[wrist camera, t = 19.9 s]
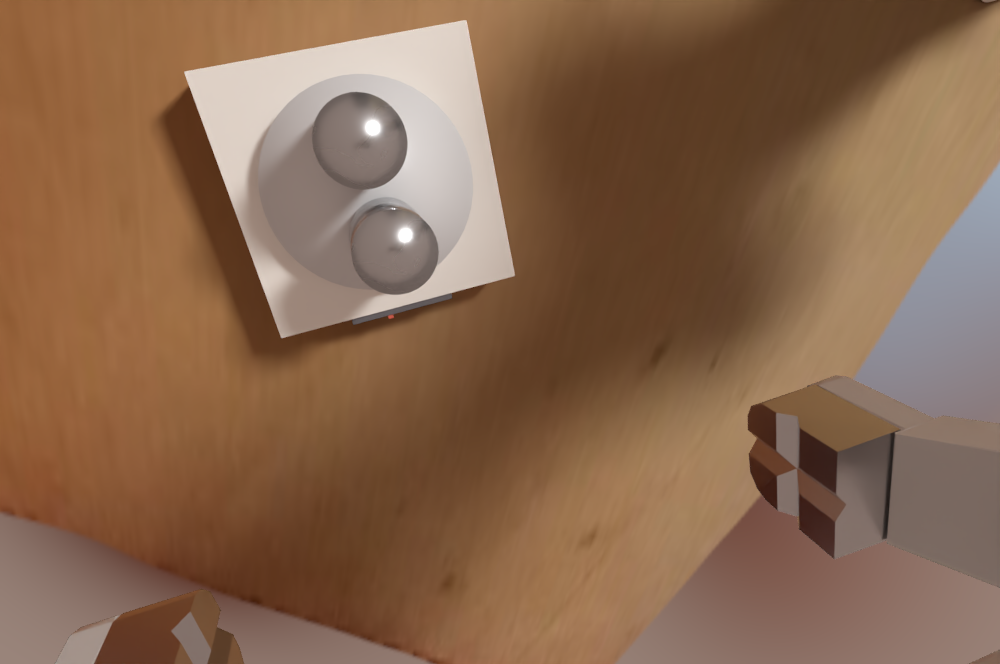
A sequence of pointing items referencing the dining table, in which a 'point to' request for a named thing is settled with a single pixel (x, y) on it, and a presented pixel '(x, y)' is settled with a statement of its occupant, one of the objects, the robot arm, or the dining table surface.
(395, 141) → the cylinder
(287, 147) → the scale
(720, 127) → the dining table surface
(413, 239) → the cylinder
